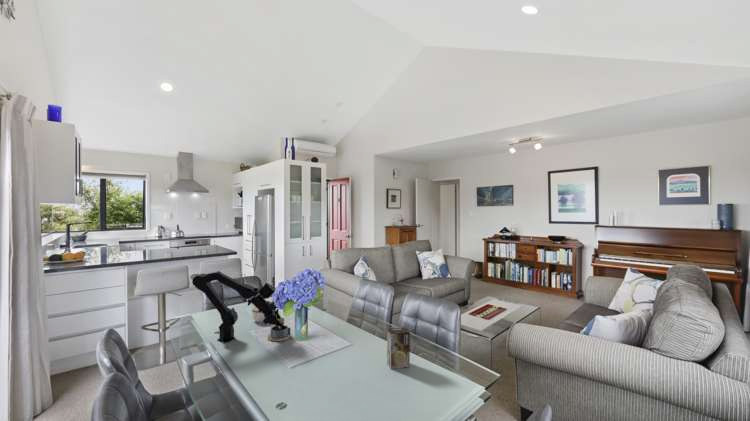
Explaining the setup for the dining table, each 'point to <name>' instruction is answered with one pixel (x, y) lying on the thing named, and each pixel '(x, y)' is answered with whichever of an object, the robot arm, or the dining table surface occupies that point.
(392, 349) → the coffee box
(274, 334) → the press body
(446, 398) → the dining table surface
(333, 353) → the dining table surface
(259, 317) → the lidded jar
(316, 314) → the dining table surface
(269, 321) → the robot arm
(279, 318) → the plunger
